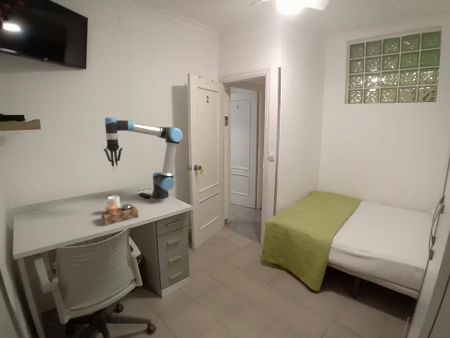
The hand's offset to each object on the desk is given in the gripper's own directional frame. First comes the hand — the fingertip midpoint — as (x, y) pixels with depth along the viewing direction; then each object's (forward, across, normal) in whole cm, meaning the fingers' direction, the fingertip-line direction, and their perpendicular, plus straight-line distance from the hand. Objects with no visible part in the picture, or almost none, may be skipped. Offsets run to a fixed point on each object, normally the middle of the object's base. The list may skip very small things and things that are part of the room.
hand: (115, 170), depth 174 cm
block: (+32, +3, +16) cm, 36 cm away
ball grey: (+32, -2, +16) cm, 36 cm away
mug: (+33, +5, +1) cm, 33 cm away
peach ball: (+30, +8, +16) cm, 35 cm away
